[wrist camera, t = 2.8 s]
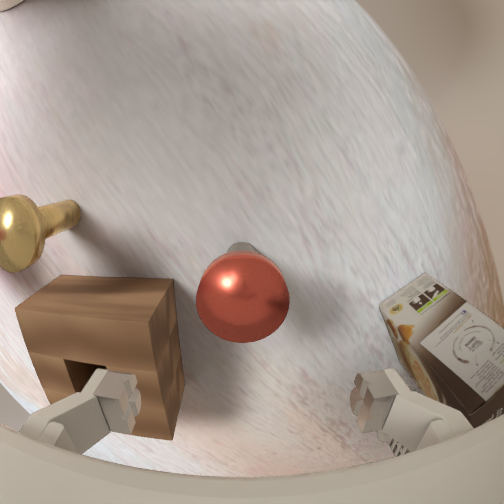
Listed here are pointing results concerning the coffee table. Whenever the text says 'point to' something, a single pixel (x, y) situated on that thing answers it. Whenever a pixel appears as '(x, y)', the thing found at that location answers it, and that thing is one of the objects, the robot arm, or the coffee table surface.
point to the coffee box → (448, 348)
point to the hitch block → (108, 341)
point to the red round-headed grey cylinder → (242, 295)
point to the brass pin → (30, 228)
